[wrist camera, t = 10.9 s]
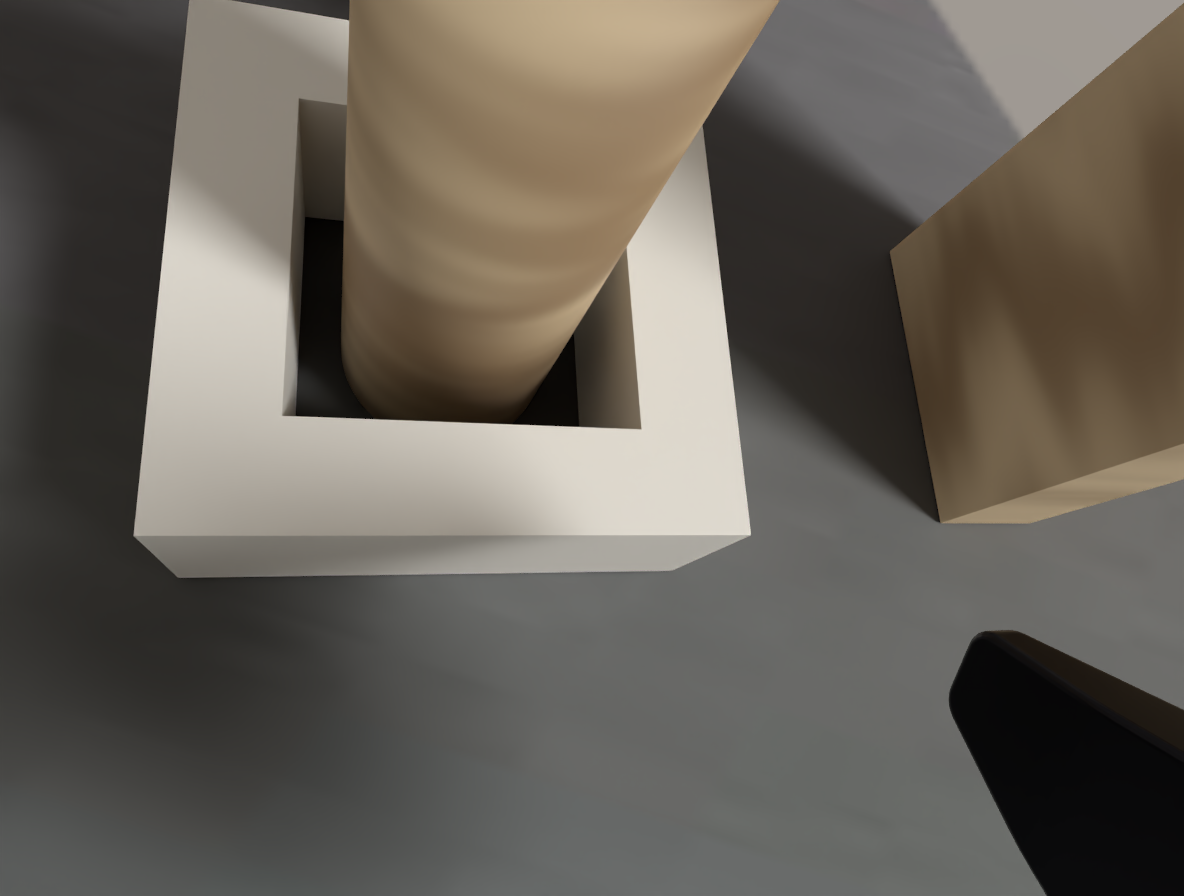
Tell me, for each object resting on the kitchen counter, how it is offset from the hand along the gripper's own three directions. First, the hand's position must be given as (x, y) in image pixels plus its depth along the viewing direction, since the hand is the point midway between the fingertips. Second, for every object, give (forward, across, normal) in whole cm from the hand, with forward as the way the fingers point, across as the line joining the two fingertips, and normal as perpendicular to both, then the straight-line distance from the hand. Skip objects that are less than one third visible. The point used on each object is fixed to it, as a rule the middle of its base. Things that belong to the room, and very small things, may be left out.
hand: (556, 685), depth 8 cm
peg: (+10, 0, +1) cm, 10 cm away
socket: (+10, 0, +1) cm, 10 cm away
